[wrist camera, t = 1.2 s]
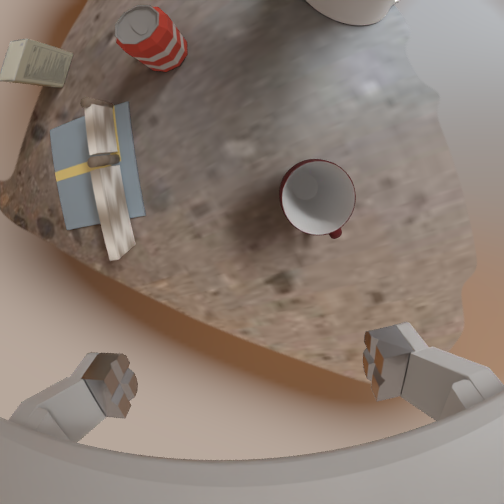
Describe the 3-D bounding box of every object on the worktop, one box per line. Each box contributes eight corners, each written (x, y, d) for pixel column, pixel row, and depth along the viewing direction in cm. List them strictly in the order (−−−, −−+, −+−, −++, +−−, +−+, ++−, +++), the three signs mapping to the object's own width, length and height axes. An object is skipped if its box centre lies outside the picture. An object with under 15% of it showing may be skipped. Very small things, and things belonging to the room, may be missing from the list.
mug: (354, 205, 40) (381, 222, 30) (310, 239, 42) (325, 266, 32) (309, 145, 37) (325, 144, 28) (262, 182, 39) (264, 193, 30)
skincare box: (56, 53, 32) (10, 38, 20) (74, 53, 32) (28, 35, 20) (45, 88, 34) (-4, 81, 22) (62, 89, 34) (13, 81, 22)
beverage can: (164, 81, 34) (129, 59, 23) (139, 54, 33) (100, 29, 22) (197, 53, 33) (175, 20, 22) (171, 27, 31) (143, -8, 20)
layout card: (51, 130, 36) (49, 130, 36) (128, 101, 35) (127, 101, 35) (68, 229, 42) (66, 230, 41) (145, 214, 41) (144, 215, 40)
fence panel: (112, 166, 38) (90, 170, 32) (120, 164, 38) (99, 168, 32) (128, 245, 42) (109, 260, 36) (136, 244, 42) (118, 259, 36)
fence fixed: (105, 104, 35) (80, 98, 28) (113, 101, 35) (88, 95, 28) (112, 164, 38) (88, 168, 31) (120, 162, 38) (97, 166, 31)
